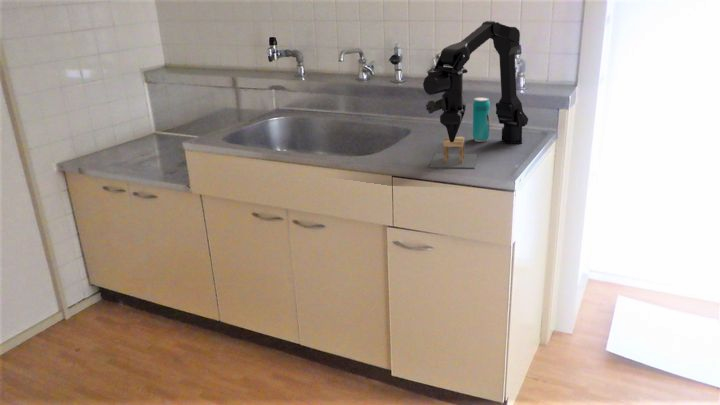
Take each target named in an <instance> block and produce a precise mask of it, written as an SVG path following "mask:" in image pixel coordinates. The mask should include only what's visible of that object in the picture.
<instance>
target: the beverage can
mask: <svg viewBox="0 0 720 405" xmlns="http://www.w3.org/2000/svg"><path fill="white" fill-rule="evenodd" d="M490 104H491V102H490V98H489V97H484V96H483V97H482V96H481V97H474V99H473V103H472V137H473V140H474V141H475V142H478V143H485V142H488V140H489V137H490V115H491V114H490V110H491V109H490V108H491V105H490Z"/></svg>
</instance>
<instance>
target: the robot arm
mask: <svg viewBox="0 0 720 405" xmlns="http://www.w3.org/2000/svg"><path fill="white" fill-rule="evenodd" d="M520 33H521V32H520V30H519V29H518V28H517V26H516V27H515V26H508V25H506V24H503V23H500V22H499V21H498V22H497V20H496V21H493V20H486V21H483V22H482V24H481V25H480V26H479V27H477V28H476V29H475V30H474V31H472V32H471V33H470V34H468V35H467V36H466V37H465V38H463V39H462V40H461V41H459V42H456V43H453V44H450V45H448V46H446V47H444V48H443V49H442V50H441V52H440V55H439V57H438V60H437V62H436V64H435V66H434V68H433V71H432V70H430V71H427V76H425V78H424V80H423V83H422V87H423V89H424V92H425V94H427V95H430V96H433V95H436V94H441V93H443V94H441V96H440V97H439V96H438V97H437V98H434V99H431V100H428V101H427V102H426V103H425V107H426V108H425V110H426V111H427V112H428V114H430V115H431V114H433V113H434V112H437V111H440V110H442V112H441V114H440V115H439V122H440V124H441V125H442V126H444V127H445V128H446V131H447V137H449V140H450V142H454V139H455V137H457V135H458V131H459V129H460V126H461V124H462V121H463V118H464V116H465V113H466V110H467V109H466V106H467V104H466V102H465V101H464V100H463V96H464V90H463V88H464V87H463V86H464V85H463V81H464V80H463V78H464V74H467V73H468V69H466V68H465V65H466V64H467V63H468V61H469V60H470V58H471V55H472V54H473V52H475V51H476V50H477V49H479V47H481V46H482V45H483V44H485V43H486V42H488V40H490V39H491V40H492V42H493V47H494V49H495V51H496V53H498V56H499V72H500V73H499V74H500V92H501V93H500V94H501V97H500V99H499V101H498V102H496V104H495V109H496V110H495V114H496V116H497V118H498V123H499V124H502V125H503V127H502V128H501V141H502V143H503V144H523V127H525V126H527V125H528V122H529V117H528V116H527V115H526V113H525V112H524V110H523V105H522V104H523V103H522V102H521V100H520V99H519V97H518V94H517V77H516V76H517V74H516V72H517V71H516V52H517V49H518V48H519V46H520V40H521V39H520V38H521V34H520Z"/></svg>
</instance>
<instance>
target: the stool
mask: <svg viewBox="0 0 720 405" xmlns="http://www.w3.org/2000/svg"><path fill="white" fill-rule="evenodd" d="M442 144H443V145H442V146H443V148H442V149H443V151H442V152H443V153H442V154H443V157H444V163H447V158H449V154H450V148H451V147H459V149H458V151H459V152H458V154H459V163H463V158H464V154H465V136H456V137H455V139H454V142H450V140H449V136H445V138H444V139H443V142H442Z"/></svg>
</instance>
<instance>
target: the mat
mask: <svg viewBox="0 0 720 405" xmlns="http://www.w3.org/2000/svg"><path fill="white" fill-rule="evenodd" d="M477 158H478V153H464V158H463V163H459V153H449V158H447V163H444V157H443V153H437V152H436V153H434V156H433V158H432V160H431V162H430V164H429V169H466V170H467V169H470V170H471V169H473V170H475V168H476V167H475V166H476V162H477Z"/></svg>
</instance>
